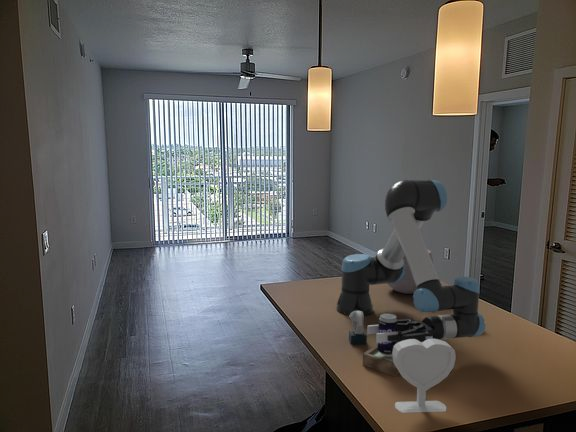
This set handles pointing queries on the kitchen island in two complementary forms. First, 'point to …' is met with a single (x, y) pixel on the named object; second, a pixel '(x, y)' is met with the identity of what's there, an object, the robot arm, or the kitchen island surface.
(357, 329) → the watch
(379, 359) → the brown divided tray
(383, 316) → the beverage can
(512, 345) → the kitchen island surface
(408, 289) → the plant pot
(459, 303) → the robot arm
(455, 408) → the kitchen island surface
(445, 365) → the heart sculpture
